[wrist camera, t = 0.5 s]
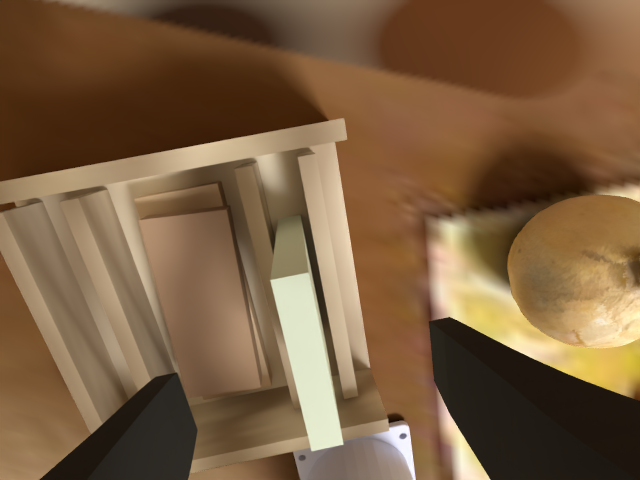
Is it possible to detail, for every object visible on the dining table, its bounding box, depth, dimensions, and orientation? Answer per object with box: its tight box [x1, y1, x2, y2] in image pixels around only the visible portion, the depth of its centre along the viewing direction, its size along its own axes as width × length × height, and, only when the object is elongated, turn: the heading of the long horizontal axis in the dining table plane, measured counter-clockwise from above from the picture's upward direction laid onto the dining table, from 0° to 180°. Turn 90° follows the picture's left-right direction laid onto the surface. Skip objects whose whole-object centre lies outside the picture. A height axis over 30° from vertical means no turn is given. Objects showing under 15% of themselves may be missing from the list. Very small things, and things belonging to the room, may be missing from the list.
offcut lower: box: [134, 181, 272, 400], centre depth 18 cm, size 4×12×1 cm, turn 10°
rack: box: [0, 118, 390, 474], centre depth 17 cm, size 16×16×5 cm
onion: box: [507, 195, 640, 348], centre depth 17 cm, size 8×8×7 cm
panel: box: [270, 215, 344, 451], centre depth 15 cm, size 1×7×8 cm, turn 10°
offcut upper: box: [138, 205, 262, 398], centre depth 18 cm, size 4×10×1 cm, turn 6°
